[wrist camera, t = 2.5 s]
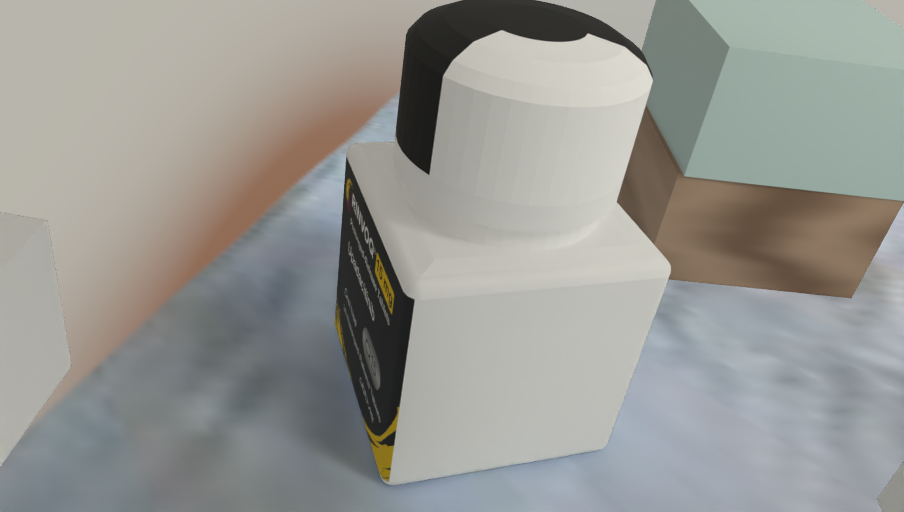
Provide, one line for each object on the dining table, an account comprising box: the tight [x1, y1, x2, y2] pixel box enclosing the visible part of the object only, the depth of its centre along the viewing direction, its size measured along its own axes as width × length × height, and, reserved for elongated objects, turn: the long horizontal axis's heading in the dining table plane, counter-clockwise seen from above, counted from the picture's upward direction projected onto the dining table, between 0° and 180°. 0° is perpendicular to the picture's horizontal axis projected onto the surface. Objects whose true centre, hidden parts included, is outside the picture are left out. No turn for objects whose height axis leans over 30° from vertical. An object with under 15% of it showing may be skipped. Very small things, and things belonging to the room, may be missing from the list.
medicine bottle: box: [335, 0, 671, 485], centre depth 22 cm, size 7×7×12 cm
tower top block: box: [642, 0, 904, 201], centre depth 32 cm, size 9×9×5 cm
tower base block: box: [617, 106, 904, 298], centre depth 35 cm, size 9×9×5 cm
